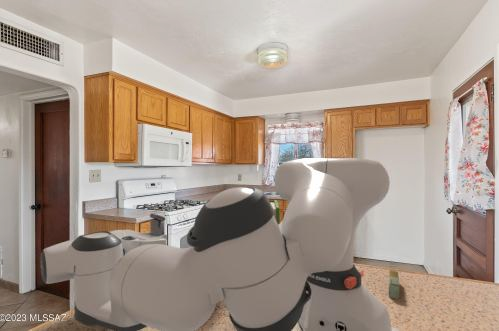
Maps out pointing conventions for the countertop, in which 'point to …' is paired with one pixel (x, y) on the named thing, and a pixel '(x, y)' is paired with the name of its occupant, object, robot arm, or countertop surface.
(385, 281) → the countertop surface
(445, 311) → the countertop surface
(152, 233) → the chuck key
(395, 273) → the medication box
